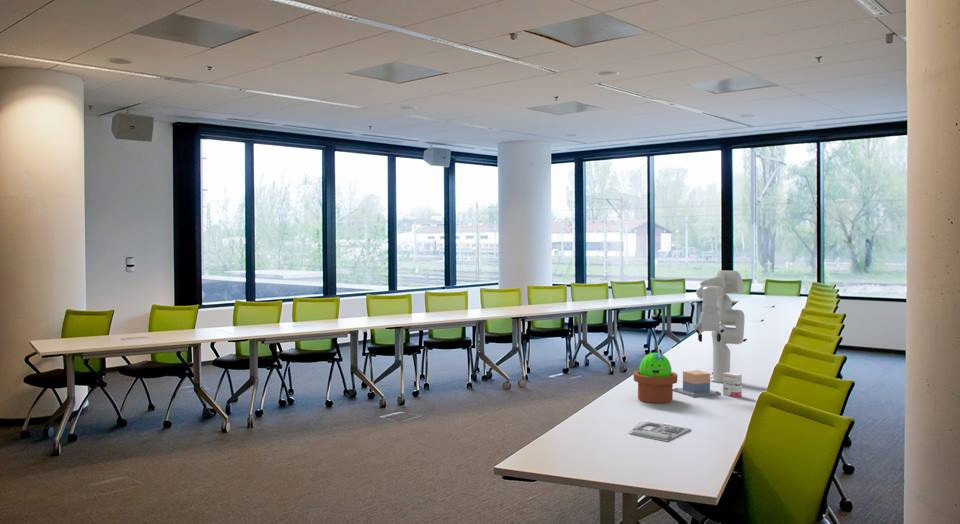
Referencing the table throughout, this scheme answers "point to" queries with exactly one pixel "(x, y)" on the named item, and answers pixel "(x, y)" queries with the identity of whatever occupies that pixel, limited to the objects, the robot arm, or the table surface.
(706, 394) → the studded square plate
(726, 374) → the ink box
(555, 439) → the table surface
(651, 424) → the grey flat panel
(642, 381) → the potted cactus
